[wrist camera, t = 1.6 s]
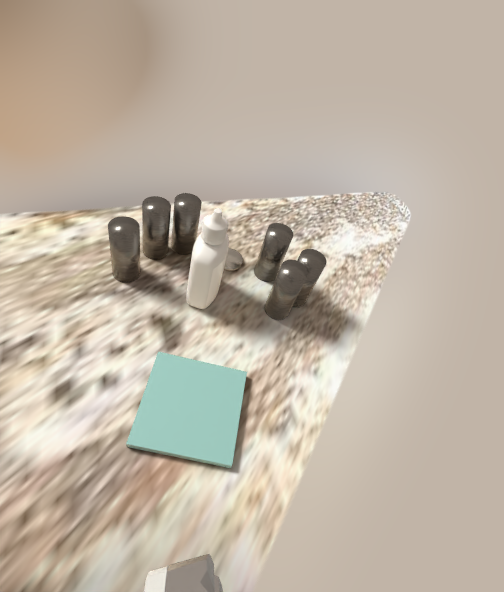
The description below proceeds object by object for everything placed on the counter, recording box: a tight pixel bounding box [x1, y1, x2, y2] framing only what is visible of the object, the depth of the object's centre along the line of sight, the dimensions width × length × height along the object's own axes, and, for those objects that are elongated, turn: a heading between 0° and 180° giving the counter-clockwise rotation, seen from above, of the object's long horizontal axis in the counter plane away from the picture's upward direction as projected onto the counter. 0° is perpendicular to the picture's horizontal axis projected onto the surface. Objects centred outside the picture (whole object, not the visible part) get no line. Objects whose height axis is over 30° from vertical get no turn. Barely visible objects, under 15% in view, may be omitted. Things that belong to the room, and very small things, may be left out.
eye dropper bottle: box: [186, 208, 229, 309], centre depth 39 cm, size 4×6×12 cm
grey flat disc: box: [224, 248, 243, 271], centre depth 48 cm, size 4×4×1 cm
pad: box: [126, 352, 247, 468], centre depth 34 cm, size 9×9×1 cm
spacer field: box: [108, 193, 326, 320], centre depth 43 cm, size 23×10×7 cm, turn 82°
